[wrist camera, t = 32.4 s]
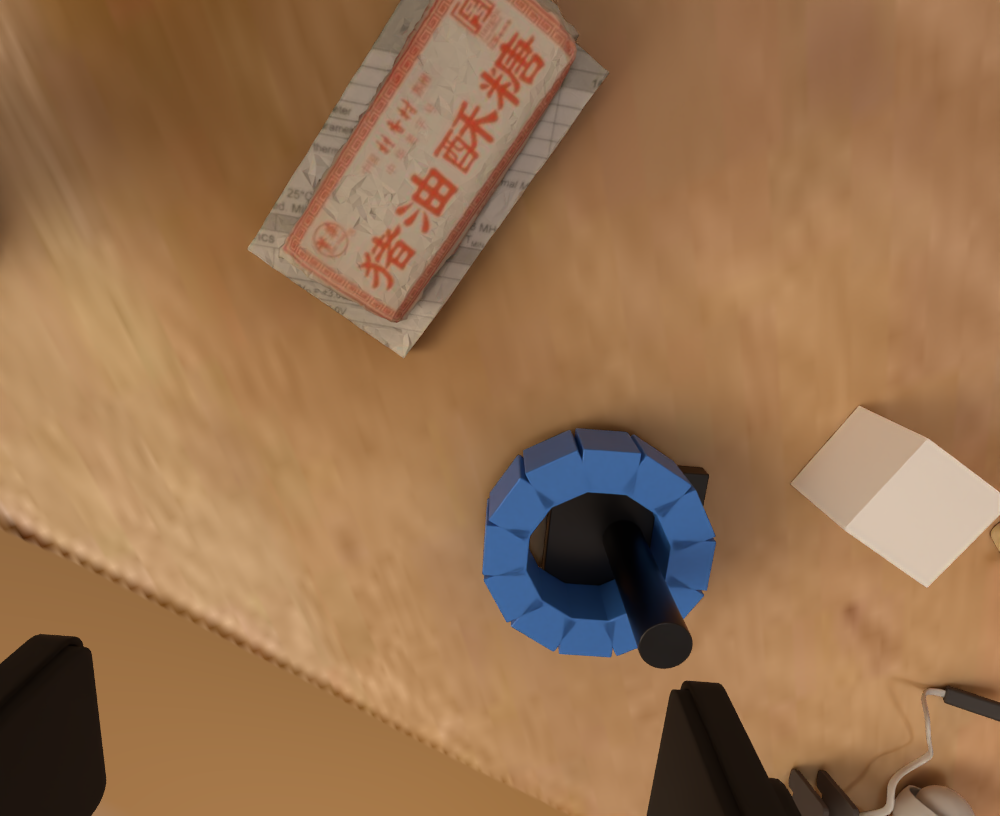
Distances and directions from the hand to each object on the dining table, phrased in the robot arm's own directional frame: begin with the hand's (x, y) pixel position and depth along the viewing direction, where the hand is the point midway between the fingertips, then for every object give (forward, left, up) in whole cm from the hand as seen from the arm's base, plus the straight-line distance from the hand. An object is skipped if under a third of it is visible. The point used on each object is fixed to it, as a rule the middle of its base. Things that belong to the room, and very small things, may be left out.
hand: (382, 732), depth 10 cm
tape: (+8, -8, -25) cm, 28 cm away
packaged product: (-3, +11, -26) cm, 29 cm away
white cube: (+24, -4, -26) cm, 36 cm away
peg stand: (+10, -9, -26) cm, 30 cm away
